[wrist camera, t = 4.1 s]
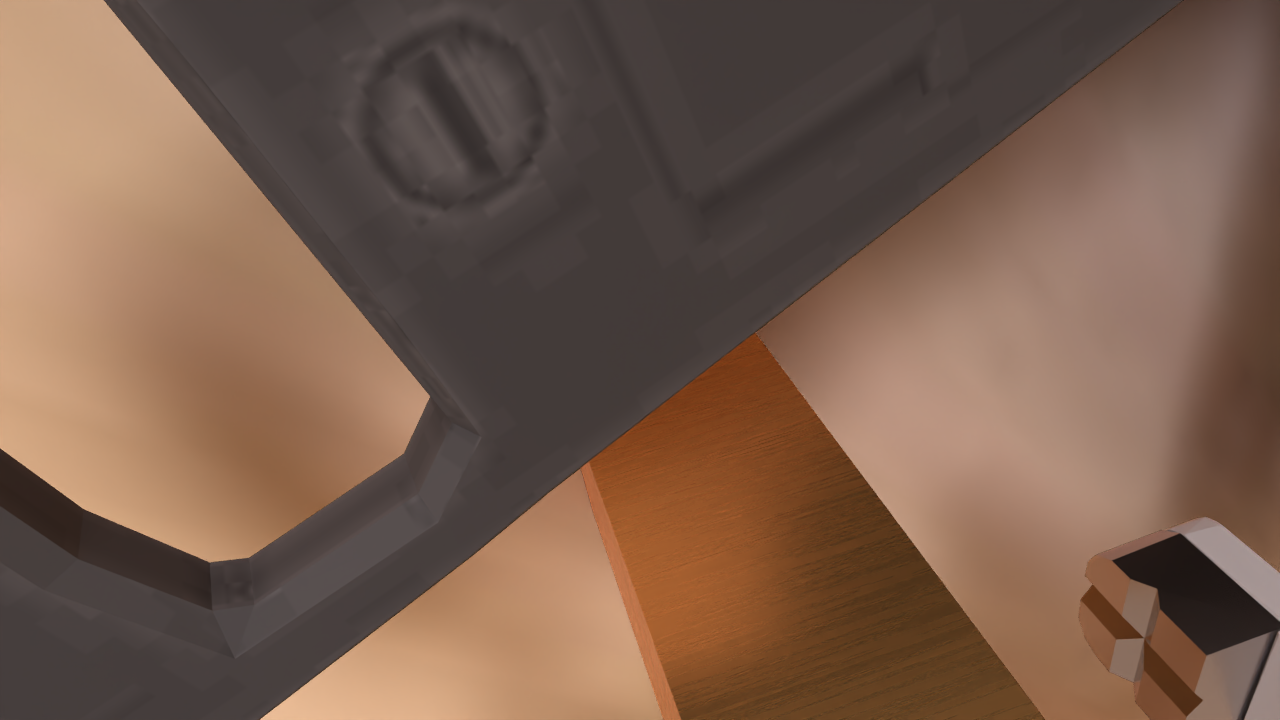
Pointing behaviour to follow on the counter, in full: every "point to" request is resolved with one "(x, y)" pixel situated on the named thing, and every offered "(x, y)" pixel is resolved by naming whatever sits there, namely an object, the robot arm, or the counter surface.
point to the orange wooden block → (778, 568)
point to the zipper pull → (512, 272)
